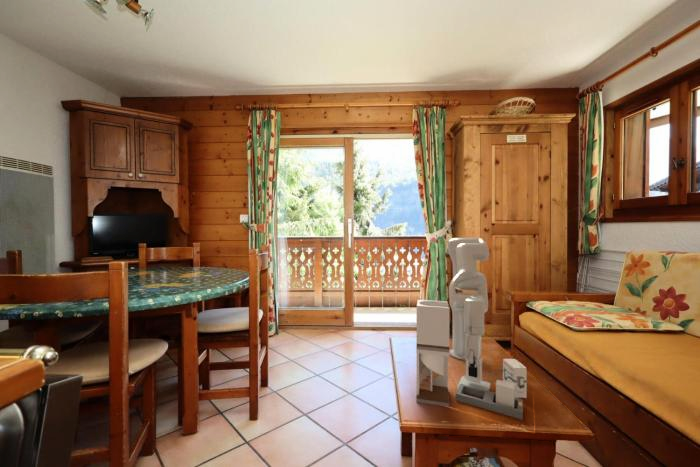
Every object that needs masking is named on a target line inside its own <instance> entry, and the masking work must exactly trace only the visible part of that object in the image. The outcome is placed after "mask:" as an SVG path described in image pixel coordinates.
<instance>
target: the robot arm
mask: <svg viewBox="0 0 700 467" xmlns="http://www.w3.org/2000/svg"><path fill="white" fill-rule="evenodd" d="M447 252H448V255H449V257H450V260H451V262H452V279H451V281H450V282H449V287H448V296H449V307H450V308H451V312H452V313H451V314H452V348H451V349H449V356H451V357H452V358H455V359H457V360H462V361H463V360H464V361H466V359H467V358H468V357H469V376H472V377H476V378H477V360H478V359H479V357H481V353H482V336H483V335H485V313H487V312H488V309H489V297H488V282H487V277H486V276H485V274H484V273H482V272H478V265H477V261H481V262H482V261H487V260H488V259H489V256H490V250H489V246H488V244H487V243H486V242H485V240H484V238H480V237H453V238H451V239H449V240H448V242H447ZM456 290H458V291H468V292H470V291H473V292H476V293H471V292H470V293H468V292H457V291H456ZM474 358H475V359H474ZM473 361H475V363H474V362H473Z"/></svg>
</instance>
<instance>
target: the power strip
mask: <svg viewBox="0 0 700 467" xmlns="http://www.w3.org/2000/svg"><path fill="white" fill-rule="evenodd" d="M464 393H465V394H464ZM472 395H473V396H472ZM481 398H482V399H481ZM455 401H457V402H460V403H464V404H467V405H470V406H475V407H477V408H481V409H484V410H487V411H491V412H495V413H497V414H501V415H504V416H508V417H511V418H515V419H517V420H518V419H519V420H520V421H521V420H522V421H523V419H524V418H523V414H524V400H523V398H515V408H512V407H509V406H505V405H501V404H498V403H496V391H490V390H489V391H487V390H483V389H479V388H476V387H472V386H468V385H464V384H460V385H459V387H457V390H456V391H455Z"/></svg>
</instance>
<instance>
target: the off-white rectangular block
mask: <svg viewBox="0 0 700 467" xmlns="http://www.w3.org/2000/svg"><path fill="white" fill-rule="evenodd" d="M495 393H496V401H495V403H498V404H501V405H505V406H509V407H512V408H516V407H515V384H514V383H510V382H505V381H503V380H502V379H501V380H499V379H496V382H495Z"/></svg>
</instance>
